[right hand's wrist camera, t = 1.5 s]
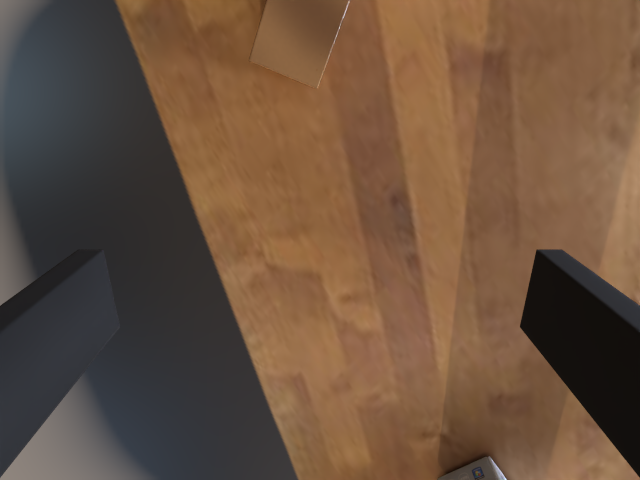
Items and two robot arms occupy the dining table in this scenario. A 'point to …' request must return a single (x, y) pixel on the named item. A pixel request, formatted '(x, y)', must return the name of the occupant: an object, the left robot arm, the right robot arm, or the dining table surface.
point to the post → (298, 37)
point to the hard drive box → (476, 471)
